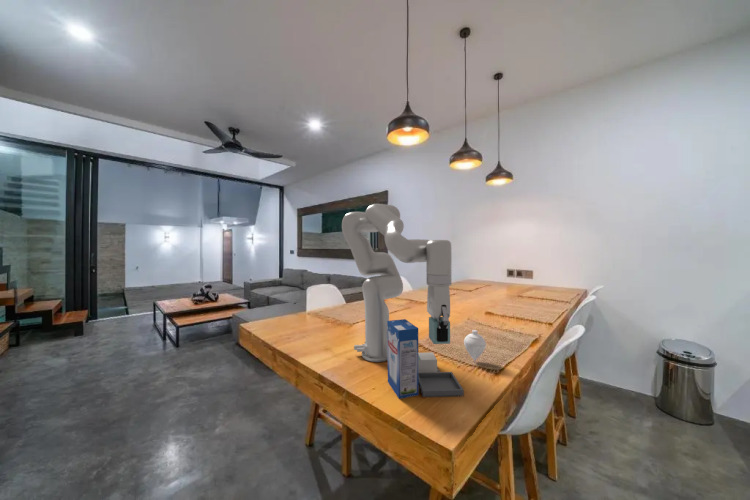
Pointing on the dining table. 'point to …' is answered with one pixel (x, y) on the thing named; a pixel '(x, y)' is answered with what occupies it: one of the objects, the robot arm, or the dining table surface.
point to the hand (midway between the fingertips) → (439, 336)
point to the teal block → (433, 331)
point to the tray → (439, 385)
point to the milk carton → (403, 358)
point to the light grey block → (427, 363)
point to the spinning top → (474, 344)
